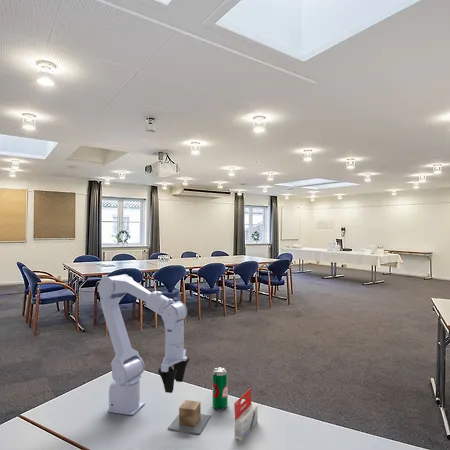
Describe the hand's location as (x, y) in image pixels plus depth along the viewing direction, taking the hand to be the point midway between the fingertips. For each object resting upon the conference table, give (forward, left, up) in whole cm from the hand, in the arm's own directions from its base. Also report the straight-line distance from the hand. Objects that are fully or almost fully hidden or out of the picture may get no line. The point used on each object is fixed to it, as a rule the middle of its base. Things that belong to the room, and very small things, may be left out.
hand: (174, 386), depth 104 cm
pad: (+5, 0, -10) cm, 11 cm away
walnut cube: (+5, 0, -10) cm, 11 cm away
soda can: (+11, +12, -11) cm, 19 cm away
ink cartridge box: (+23, +1, -11) cm, 25 cm away
